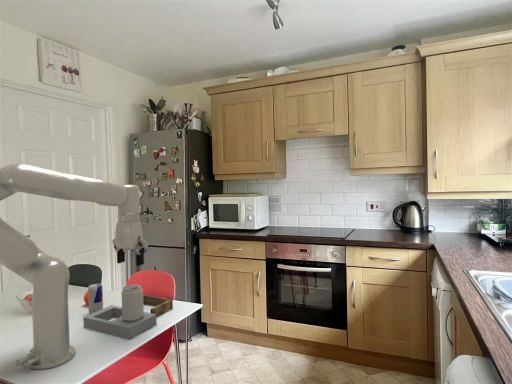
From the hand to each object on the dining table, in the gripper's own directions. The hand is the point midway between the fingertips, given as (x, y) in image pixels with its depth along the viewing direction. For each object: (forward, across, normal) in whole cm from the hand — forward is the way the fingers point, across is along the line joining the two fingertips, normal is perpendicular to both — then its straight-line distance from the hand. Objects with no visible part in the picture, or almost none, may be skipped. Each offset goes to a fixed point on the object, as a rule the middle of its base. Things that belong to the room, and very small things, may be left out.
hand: (130, 263), depth 122 cm
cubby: (+24, -7, +15) cm, 30 cm away
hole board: (+24, -6, 0) cm, 25 cm away
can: (+21, +1, 0) cm, 21 cm away
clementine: (+25, -36, +11) cm, 45 cm away
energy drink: (+25, -25, +4) cm, 35 cm away
